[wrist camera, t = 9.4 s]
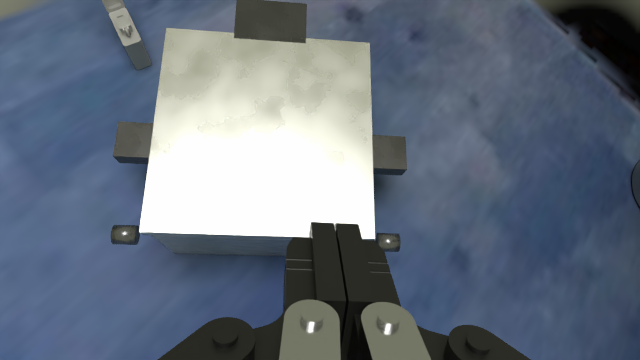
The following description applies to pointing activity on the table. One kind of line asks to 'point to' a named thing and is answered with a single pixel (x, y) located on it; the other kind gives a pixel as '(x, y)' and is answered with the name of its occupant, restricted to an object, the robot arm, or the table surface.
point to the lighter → (127, 33)
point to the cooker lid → (260, 131)
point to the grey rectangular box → (136, 149)
